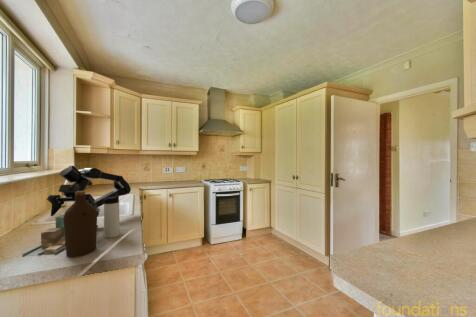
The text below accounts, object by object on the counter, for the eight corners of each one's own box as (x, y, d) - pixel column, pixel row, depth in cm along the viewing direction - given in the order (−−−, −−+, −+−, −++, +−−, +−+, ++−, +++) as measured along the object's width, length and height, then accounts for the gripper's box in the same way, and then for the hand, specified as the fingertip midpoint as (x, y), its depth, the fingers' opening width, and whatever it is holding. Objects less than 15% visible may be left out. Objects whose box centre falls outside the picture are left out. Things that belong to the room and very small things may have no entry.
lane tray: (88, 237, 97) (88, 233, 97) (55, 256, 78) (55, 252, 78) (61, 238, 96) (61, 234, 96) (22, 258, 77) (22, 253, 77)
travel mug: (123, 235, 98) (122, 194, 98) (109, 240, 92) (108, 197, 92) (115, 233, 101) (114, 193, 101) (101, 238, 95) (100, 196, 95)
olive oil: (104, 248, 84) (103, 189, 84) (80, 262, 74) (79, 194, 74) (82, 247, 86) (81, 188, 86) (56, 259, 76) (54, 193, 75)
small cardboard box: (62, 248, 83) (62, 245, 83) (56, 252, 79) (56, 249, 79) (51, 249, 82) (51, 245, 82) (44, 253, 79) (44, 249, 79)
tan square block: (73, 242, 88) (73, 239, 88) (66, 246, 84) (66, 243, 84) (63, 243, 88) (63, 239, 88) (55, 247, 84) (55, 243, 84)
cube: (61, 238, 90) (61, 227, 90) (54, 242, 85) (54, 231, 85) (49, 239, 89) (49, 228, 89) (41, 243, 84) (40, 232, 84)
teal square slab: (69, 237, 95) (69, 215, 94) (51, 247, 84) (51, 222, 84) (60, 237, 94) (60, 215, 94) (41, 247, 84) (40, 222, 84)
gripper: (49, 178, 97) (28, 206, 86) (90, 177, 99) (74, 205, 88) (62, 191, 105) (44, 219, 94) (100, 190, 107) (87, 218, 96)
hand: (62, 215), depth 93 cm, fingers open, 9 cm apart
